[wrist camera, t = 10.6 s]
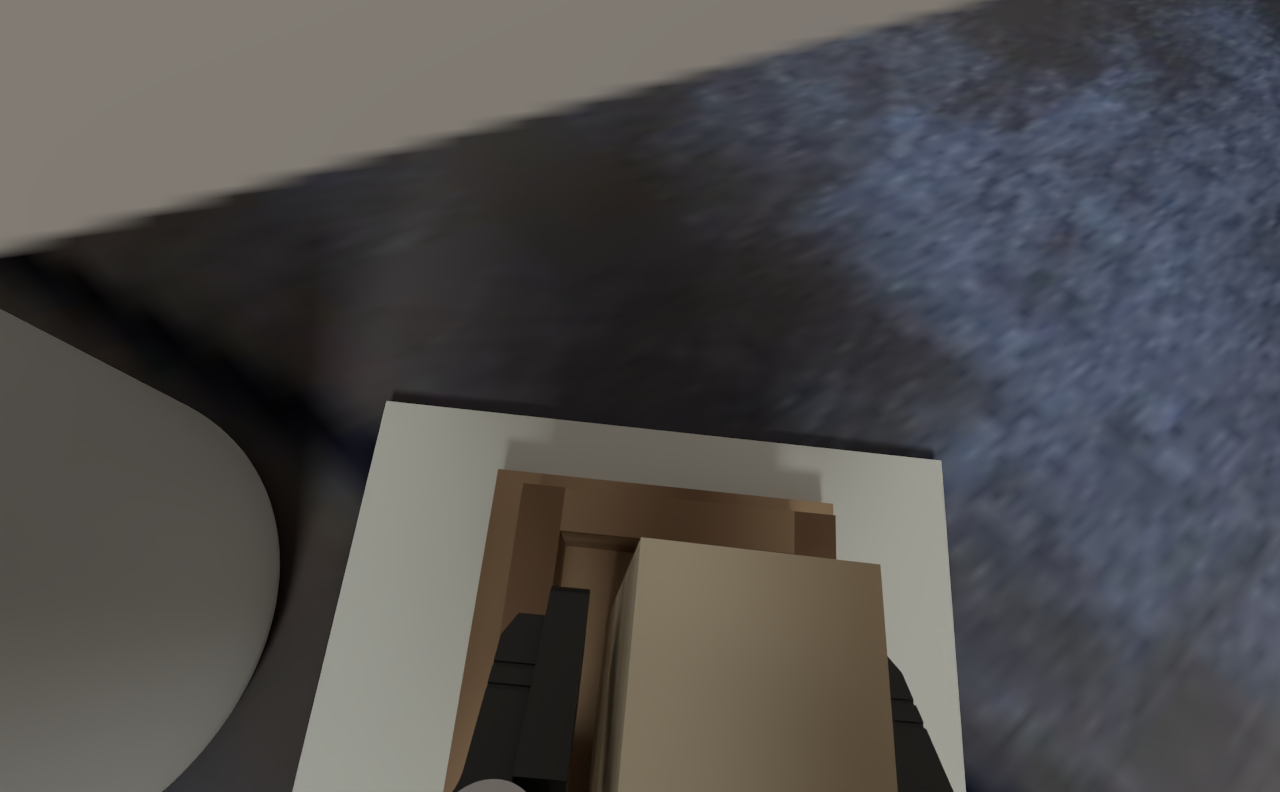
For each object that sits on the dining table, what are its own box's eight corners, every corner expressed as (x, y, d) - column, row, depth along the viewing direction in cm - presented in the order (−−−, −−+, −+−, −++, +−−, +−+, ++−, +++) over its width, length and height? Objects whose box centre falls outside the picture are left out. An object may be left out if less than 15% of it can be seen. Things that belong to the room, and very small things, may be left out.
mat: (238, 1042, 15) (229, 1053, 14) (390, 404, 20) (386, 400, 20) (979, 1094, 15) (989, 1105, 15) (935, 463, 21) (941, 460, 20)
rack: (422, 959, 15) (356, 1091, 11) (502, 476, 19) (477, 436, 15) (825, 989, 16) (912, 1129, 11) (821, 509, 20) (884, 479, 15)
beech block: (576, 892, 14) (579, 1212, 6) (606, 620, 17) (640, 537, 8) (712, 904, 15) (931, 1235, 6) (721, 632, 17) (880, 564, 8)
